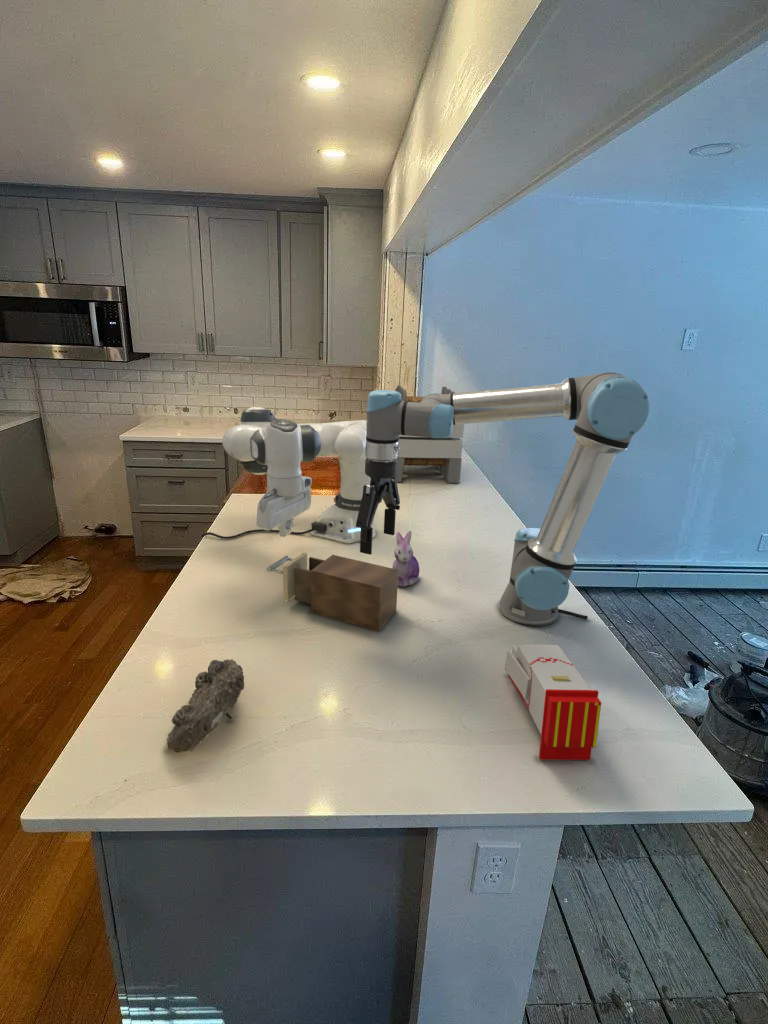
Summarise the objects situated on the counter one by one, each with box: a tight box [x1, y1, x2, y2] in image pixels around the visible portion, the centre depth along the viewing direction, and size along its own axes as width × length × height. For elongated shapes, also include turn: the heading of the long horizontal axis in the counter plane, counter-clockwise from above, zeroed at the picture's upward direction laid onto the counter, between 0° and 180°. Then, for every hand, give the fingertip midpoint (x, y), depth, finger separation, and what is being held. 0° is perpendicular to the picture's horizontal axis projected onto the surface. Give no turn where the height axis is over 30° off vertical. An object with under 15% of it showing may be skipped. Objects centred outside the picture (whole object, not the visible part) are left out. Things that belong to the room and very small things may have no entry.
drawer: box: [266, 552, 326, 605], centre depth 150 cm, size 24×10×10 cm, turn 66°
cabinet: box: [310, 554, 399, 632], centre depth 146 cm, size 19×11×12 cm, turn 66°
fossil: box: [166, 658, 245, 754], centre depth 106 cm, size 22×10×15 cm
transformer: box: [394, 384, 465, 484], centre depth 268 cm, size 34×33×41 cm
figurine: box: [392, 530, 420, 588], centre depth 163 cm, size 9×10×15 cm
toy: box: [504, 643, 602, 761], centre depth 112 cm, size 12×13×30 cm
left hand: (285, 535), depth 149 cm, fingers closed
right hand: (377, 543), depth 138 cm, fingers open, 13 cm apart
